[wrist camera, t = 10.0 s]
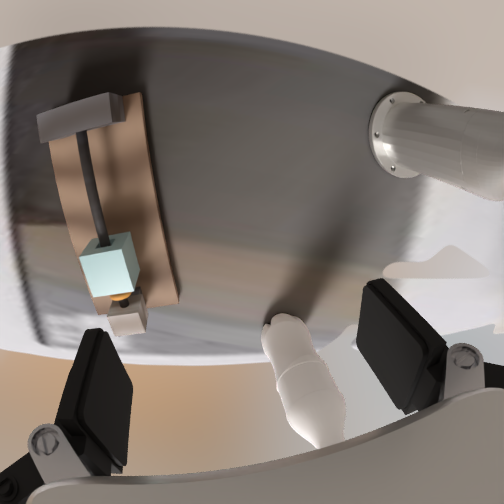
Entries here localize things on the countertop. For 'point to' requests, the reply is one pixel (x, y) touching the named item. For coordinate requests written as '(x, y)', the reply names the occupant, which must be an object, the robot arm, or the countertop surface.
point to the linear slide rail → (111, 196)
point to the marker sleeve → (110, 265)
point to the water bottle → (304, 382)
